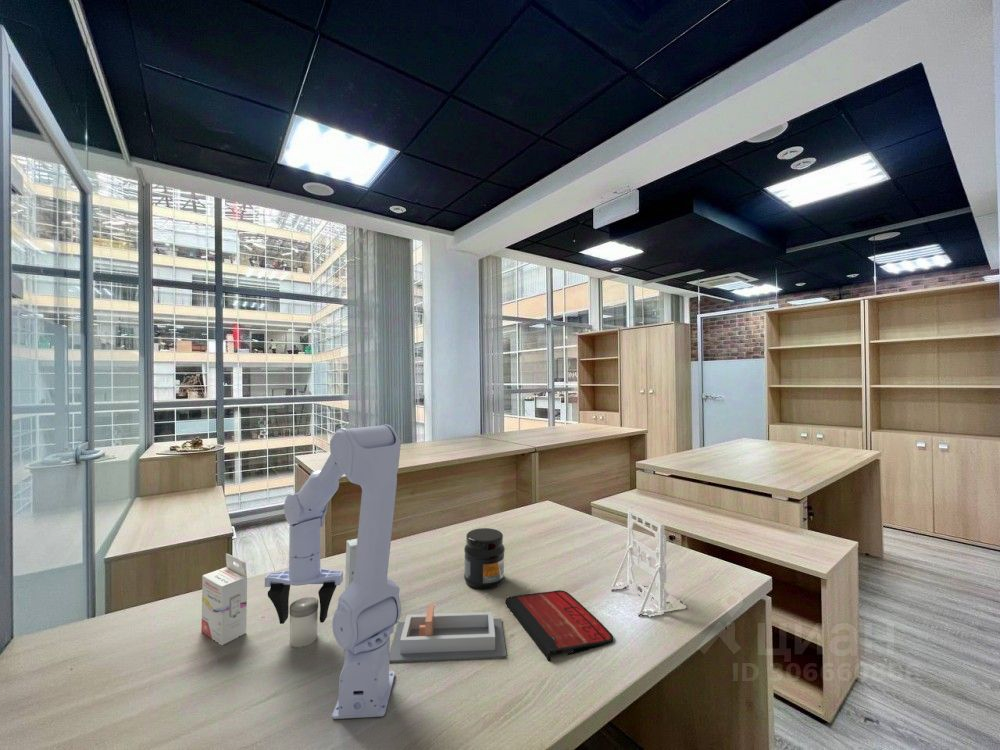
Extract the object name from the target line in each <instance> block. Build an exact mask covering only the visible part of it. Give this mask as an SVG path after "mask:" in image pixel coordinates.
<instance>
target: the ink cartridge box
mask: <svg viewBox="0 0 1000 750" xmlns="http://www.w3.org/2000/svg"><path fill="white" fill-rule="evenodd" d="M225 561H226V563H225V564H226V566H225V567H221V568H220V569H217V570H214V571H211V572H208V573H205V574H202V578H201V579H202V582H201V583H202V588H201V589H202V592H201V593H202V594H201V631H200V632H201V633H202V634H204V635H206V636H207V637H209V638H210V639H211V640H213V641H214V640H215V641H214V642H216V643H217V642H218V645H219V646H220V645H221V646H224V645H226V644H228V643H230V642H232V641H233V640H235V639H238V638H239V636H240V637H241V636H243V635H245V634H247V615H248V614H247V611H248V609H247V607H248V606H247V605H248V576H247V564H246V561H244V560H242V559H240V558H238V557H236V556H234V555H233V554H232V555H231V554H229V553H228V552H227V553H225ZM234 563H236V564H237V565H236V564H234Z"/></svg>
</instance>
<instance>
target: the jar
mask: <svg viewBox="0 0 1000 750" xmlns="http://www.w3.org/2000/svg"><path fill="white" fill-rule="evenodd" d="M318 609H319V599H318V598H316V597H313V596H307V597H302V598H299V599H296V600H294V601H293V602H292V603H290V605H289V645H290V647H293V648H302V647H303V646H304V647H307V646H309V645H311V644H313V643H314V642H315V641H316V640H317V639H318V623H319V622H318V621H319V620H318V617H319V616H318V615H319V614H318V611H319V610H318Z"/></svg>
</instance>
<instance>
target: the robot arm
mask: <svg viewBox="0 0 1000 750" xmlns="http://www.w3.org/2000/svg"><path fill="white" fill-rule="evenodd" d="M329 442H330V443H329V450H330V451H329V453H330V454H329V456H328V458H327V460H326V461H325V463H324V465H323V467H322V468H321V469H317V470H313V471H312V472H311V473H310V475H309V477H308V478H307V480H306V481H305V482H304V483H303V485H302V486H301V488H300V489H299V490H298V492H296V493H289V494H287V496H286V497H285V500H284V503H283V504H284V505H283V511H284V517H285V519H286V522H287V523H288V524H289V538H288V540H289V542H288V543H289V544H288V570H282V571H276V572H269V573H268V574H267V575H266V576H264V588H269V590H268V591H267V597H268V599H269V600H270V601H271V603H272V604H273V606H274V608H275V610H276V614H277V617H278V620H279V621H278V622H279V624H280V625H283V624H285V622H286V621H287V620H288V618H289V614H290V605H289V599H290V590H291V586H305V585H306V586H307V585H322V586H321V587H320V588H319V590H318V598H319V599H318V600H319V623H324V622H326V619H327V618H328V611H329V607H330V603H331V601H332V597H333V596H334V593H335V591H336V589H337V586H341V584H342V583H343V581H344V571H343V570H342V571H341V570H331V569H326V568H321V549H322V548H321V547H322V546H321V542H322V541H321V540H322V539H321V538H322V534H321V533H322V527H324V524H325V518H326V514H327V513H328V503H329V502H330V500H331V499H332V498H333V497H334V495H335V493H336V492H337V491H338V490H339V487H340V479H341V478H342V476H345V477H346V478H347V479H348V480H349V482H350V483H352V484H354V485H358V486H360V488H361V497H360V498H361V499H360V510H359V516H358V517H359V518H358V520H359V521H358V527H357V528H358V531H357V538H356V539H357V548H356V559H355V569H354V579H353V581H352V583H351V584H350V585H349V586H348V587H347V588H346V590H345V589H344V591H343V592H342V593H341V594H340V595H339V597H338V602H337V607H336V610H335V612H334V614H333V617H332V623H331V624H332V632H333V635H334V638H335V641H336V642H337V644H338V646H340V647H341V648H342V649H344V651H343V652H344V656H343V657H344V659H343V660H344V661H343V666H342V669H341V672H340V674H339V676H338V677H339V678H338V699H337V702H336V704H335V706H334V709H333V711H332V713H331V718H332V719H333V720H338V719H340V720H341V719H342V720H343V719H355V718H357V719H358V718H359V719H361V718H374V717H375V718H376V717H377V718H378V717H379V718H380V717H384V716H385V714H386V711H387V707H388V703H389V700H390V695H391V692H392V688H393V682H394V679H395V676H396V671H394V670H390V663H389V659H390V649H391V646H390V644H391V642H390V641H391V639H390V637H391V635H393V633H395V632H394V631H395V628H394V627H395V625H396V624H397V625H398V622H400V618H401V614H402V607H401V605H402V604H401V601H400V587H399V585H398V584H397V582H395V581H394V580H393V579H392V578H390V577H388V575H389V574H388V573H389V565H390V564H389V563H390V562H389V561H390V553H391V552H390V551H391V546H392V545H391V542H392V533H393V524H394V514H395V505H396V504H395V503H396V494H397V485H398V473H399V466H400V456H401V448H402V447H401V445H402V441H401V439H400V438H399V435H398V434H397V432H396V430H395V428H394V427H393V426H392V425H390V424H381V425H374V426H373V425H371V426H364V427H353V428H345V427H342V428H338V429H337V430H336V431H335V432H334V433H333V436H332V437H331V438H330V441H329Z"/></svg>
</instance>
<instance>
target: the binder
mask: <svg viewBox="0 0 1000 750" xmlns="http://www.w3.org/2000/svg"><path fill="white" fill-rule="evenodd" d="M504 602H505V603H504V604H506V605H507V606H506V605H505V606H506V607H507V608H509V609H510V610H509V609H508V610H509V611H510V613H511V612H512V613H513V614H512V613H511V614H512V615H513V617H514V618H515V619H516V620H517V622H518V623H519V624H520V626H521V627H522V628H523V630H524V631H525V633H526V634H528V636H529V638H531V640H532V641H533V642H534V644H535V645H536V647H537V648H538V650H539V651H540V652H541V653H542V654H543V656H544V657H545V658H546V660H547V662H550V661H551V656H550V655H551V653H557V654H561V653H563V652H566V651H571V652H567V656H571V655H575V654H579V653H580V654H581V653H583V652H587V651H590V650H594V649H598V648H600V647H601V648H602V647H604V646H606V645H610V644H612V643H613V642H614V636H613V634H612V633H611V632H610V631H609V630H608V628H606V626H604V624H603V623H602V622H601V621H600V620H599V619H598V618H596V616H595V615H594V614H592V613H591V612H590V611H589V609H587V608H586V607H584V606H583V604H582V603H580V602H579V601H578V600H577V599H576V598H575V597H574V596H572V595H571V594H570V592H568V591H565V590H560V589H559V590H552V591H543V592H542V591H541V592H535V593H534V592H533V593H526V594H521V595H520V594H519V595H513V596H507V597H506V598H505V601H504Z"/></svg>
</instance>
